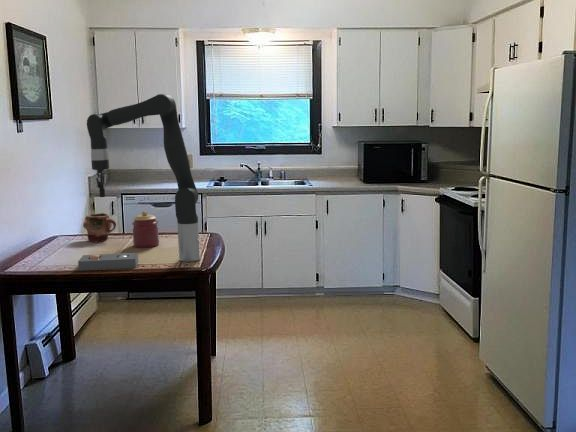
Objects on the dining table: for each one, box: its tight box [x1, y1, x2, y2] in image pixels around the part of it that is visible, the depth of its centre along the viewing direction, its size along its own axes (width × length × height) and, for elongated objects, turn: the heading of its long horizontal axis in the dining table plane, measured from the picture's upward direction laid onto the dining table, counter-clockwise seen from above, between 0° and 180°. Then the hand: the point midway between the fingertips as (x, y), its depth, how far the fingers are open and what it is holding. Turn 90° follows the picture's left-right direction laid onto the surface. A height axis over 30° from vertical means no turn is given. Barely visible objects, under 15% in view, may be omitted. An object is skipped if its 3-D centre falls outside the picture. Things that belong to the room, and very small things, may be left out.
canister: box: [131, 210, 160, 249], centre depth 312 cm, size 13×13×18 cm
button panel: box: [77, 252, 139, 271], centre depth 273 cm, size 24×12×4 cm, turn 98°
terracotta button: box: [90, 254, 100, 259], centre depth 272 cm, size 4×4×3 cm
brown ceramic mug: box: [82, 212, 117, 243], centre depth 327 cm, size 20×12×14 cm, turn 76°
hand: (102, 196), depth 281 cm, fingers closed
